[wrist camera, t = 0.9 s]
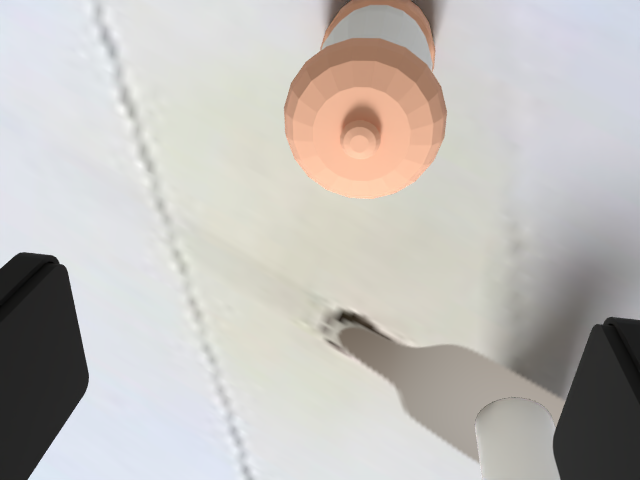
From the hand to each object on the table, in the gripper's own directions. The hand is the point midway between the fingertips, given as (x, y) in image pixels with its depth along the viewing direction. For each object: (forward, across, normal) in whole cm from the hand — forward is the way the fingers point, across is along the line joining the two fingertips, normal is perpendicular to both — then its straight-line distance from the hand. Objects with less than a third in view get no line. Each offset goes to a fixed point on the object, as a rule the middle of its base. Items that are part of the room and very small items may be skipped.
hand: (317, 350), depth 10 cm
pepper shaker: (+33, 0, +1) cm, 33 cm away
